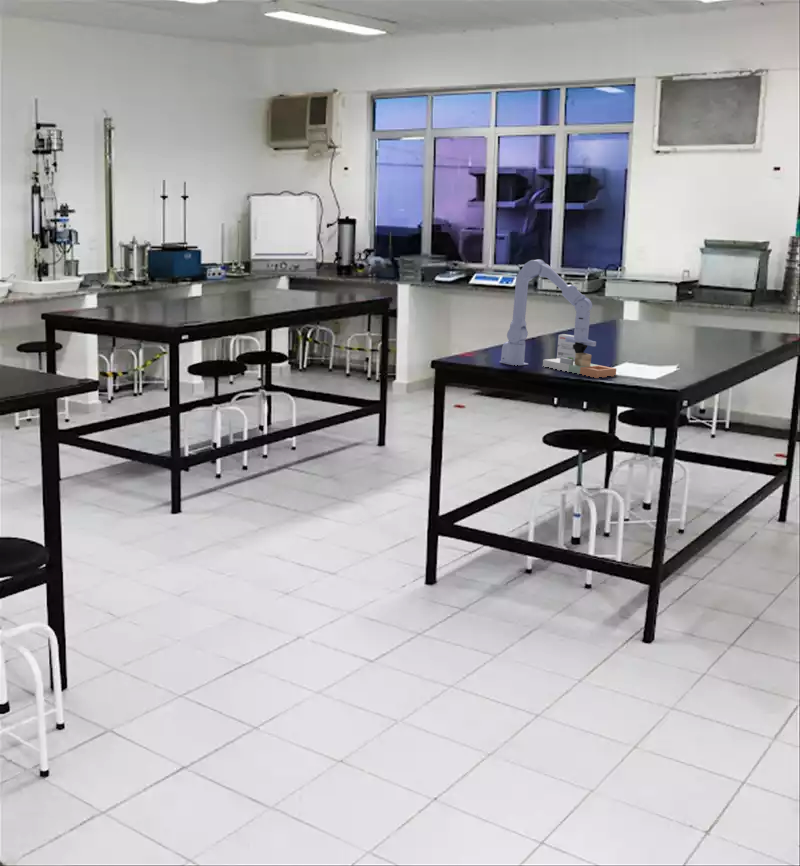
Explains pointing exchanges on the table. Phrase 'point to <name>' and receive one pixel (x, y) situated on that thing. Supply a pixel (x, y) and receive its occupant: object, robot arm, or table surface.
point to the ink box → (565, 347)
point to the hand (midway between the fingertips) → (578, 361)
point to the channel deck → (579, 367)
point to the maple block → (582, 359)
